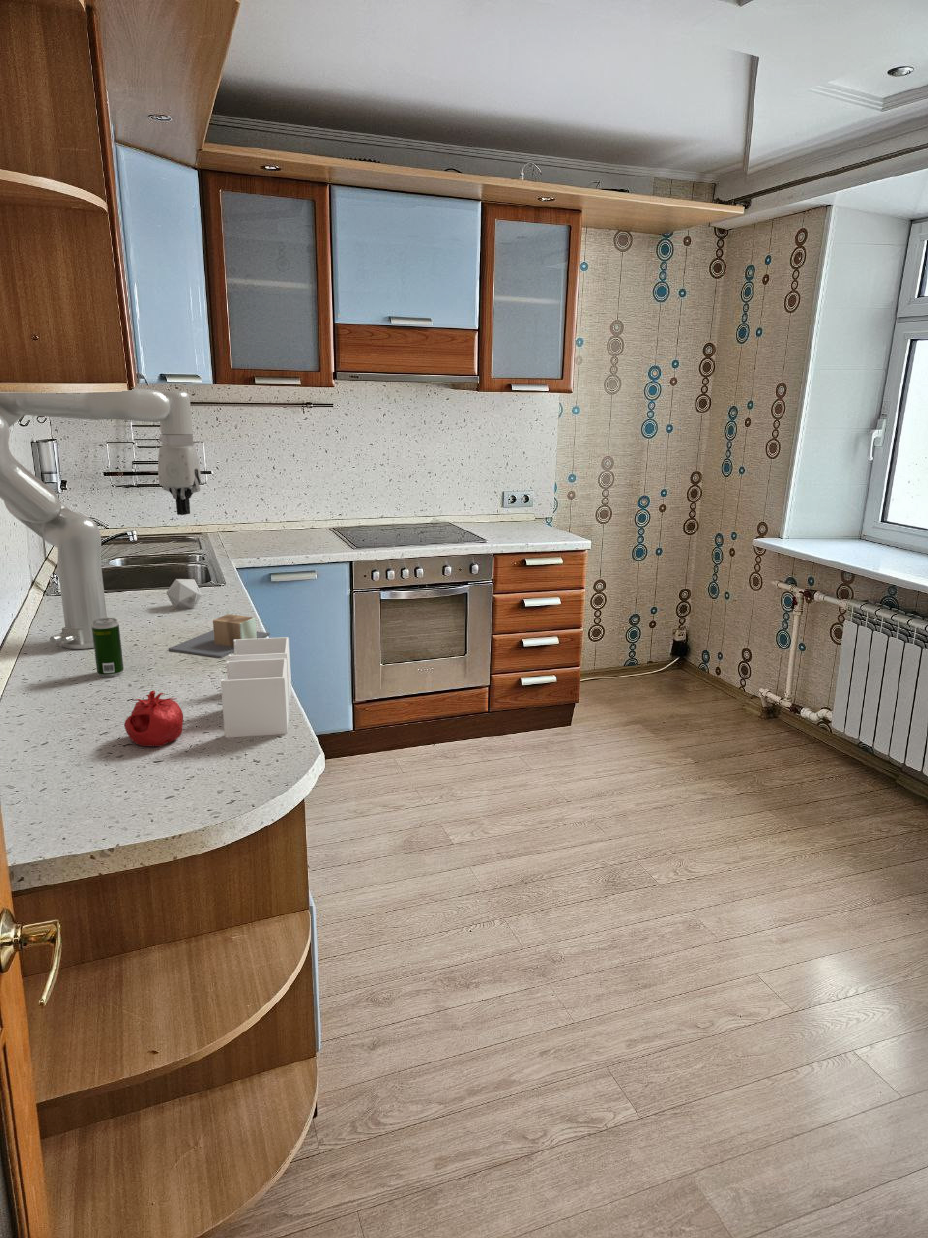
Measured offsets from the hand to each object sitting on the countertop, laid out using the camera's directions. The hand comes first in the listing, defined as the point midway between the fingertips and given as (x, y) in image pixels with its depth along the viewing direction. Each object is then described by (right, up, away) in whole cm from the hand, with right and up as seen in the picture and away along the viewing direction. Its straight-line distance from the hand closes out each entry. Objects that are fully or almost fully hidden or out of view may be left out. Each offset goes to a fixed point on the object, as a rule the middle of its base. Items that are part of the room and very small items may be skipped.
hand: (183, 514), depth 207 cm
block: (+20, -30, -13) cm, 39 cm away
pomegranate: (+18, -49, -64) cm, 83 cm away
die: (-7, -24, +23) cm, 34 cm away
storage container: (+33, -45, -50) cm, 75 cm away
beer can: (-5, -39, -32) cm, 51 cm away
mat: (+12, -33, -9) cm, 36 cm away
